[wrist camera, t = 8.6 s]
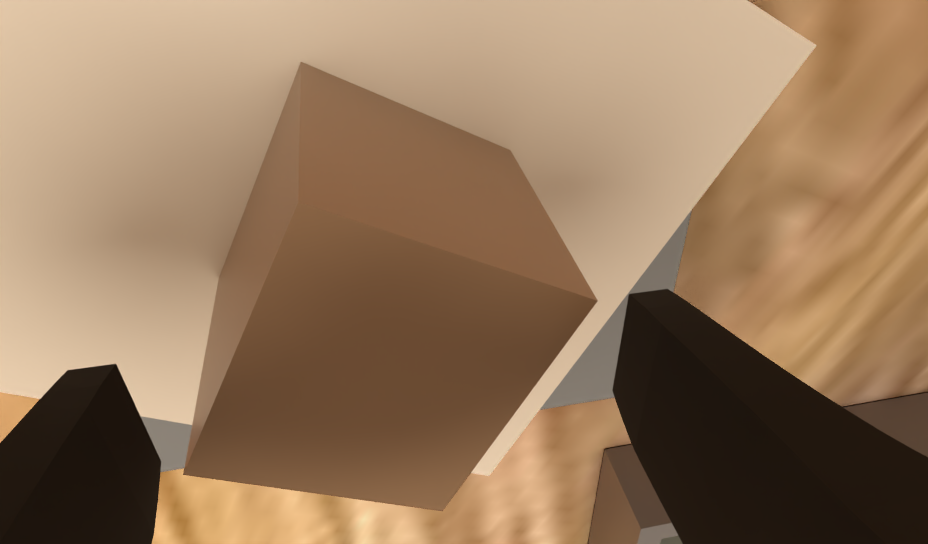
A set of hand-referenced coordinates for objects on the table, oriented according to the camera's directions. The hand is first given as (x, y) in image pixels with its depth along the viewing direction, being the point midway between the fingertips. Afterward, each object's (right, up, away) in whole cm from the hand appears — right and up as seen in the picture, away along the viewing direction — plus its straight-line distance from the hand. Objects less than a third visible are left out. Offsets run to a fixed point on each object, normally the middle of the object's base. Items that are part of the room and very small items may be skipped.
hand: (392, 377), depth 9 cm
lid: (-1, +3, +5) cm, 6 cm away
